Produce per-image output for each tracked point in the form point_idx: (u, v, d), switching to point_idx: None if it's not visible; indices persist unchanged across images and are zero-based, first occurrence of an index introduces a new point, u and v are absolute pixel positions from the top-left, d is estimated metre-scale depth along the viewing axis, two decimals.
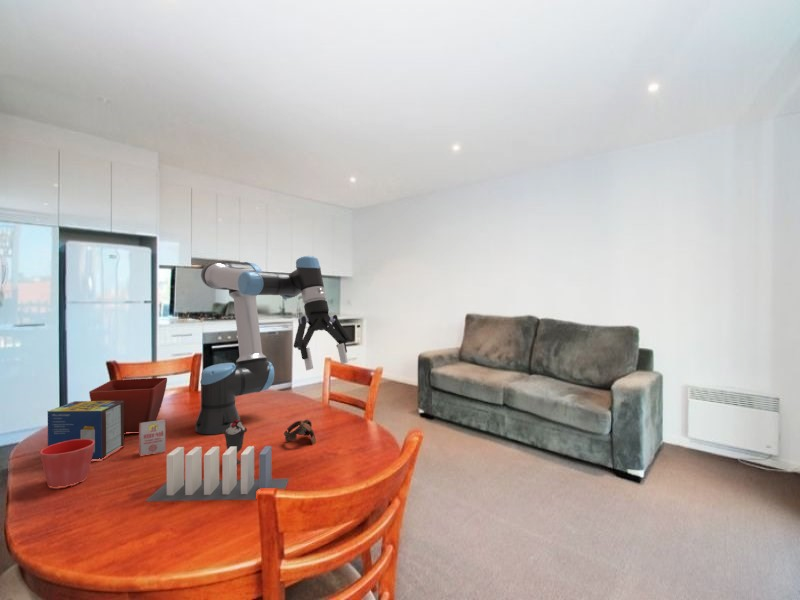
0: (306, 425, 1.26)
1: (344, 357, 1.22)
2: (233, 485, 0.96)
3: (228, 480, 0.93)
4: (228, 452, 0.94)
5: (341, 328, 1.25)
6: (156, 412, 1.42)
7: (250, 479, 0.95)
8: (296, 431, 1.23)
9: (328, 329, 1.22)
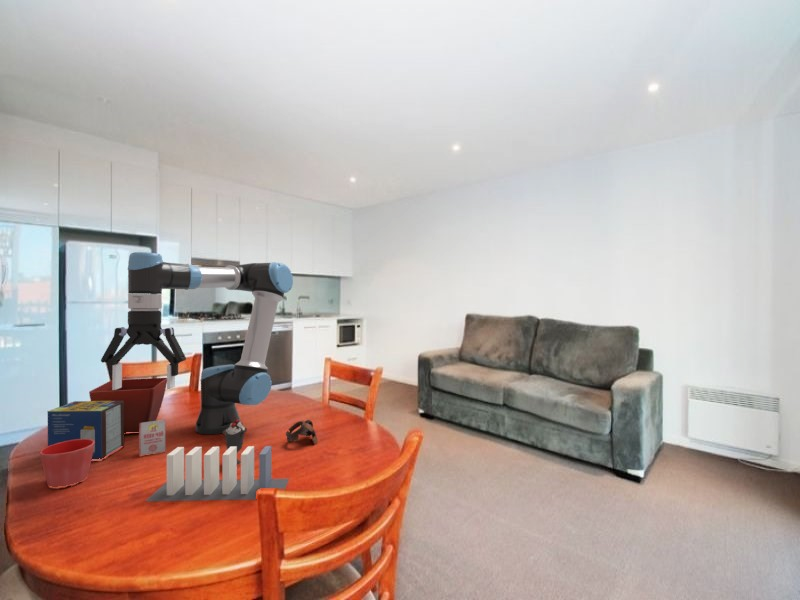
0: (308, 425, 1.26)
1: None
2: (233, 485, 0.96)
3: (228, 480, 0.93)
4: (228, 452, 0.94)
5: (172, 346, 1.00)
6: (156, 412, 1.42)
7: (250, 479, 0.95)
8: (298, 431, 1.22)
9: None
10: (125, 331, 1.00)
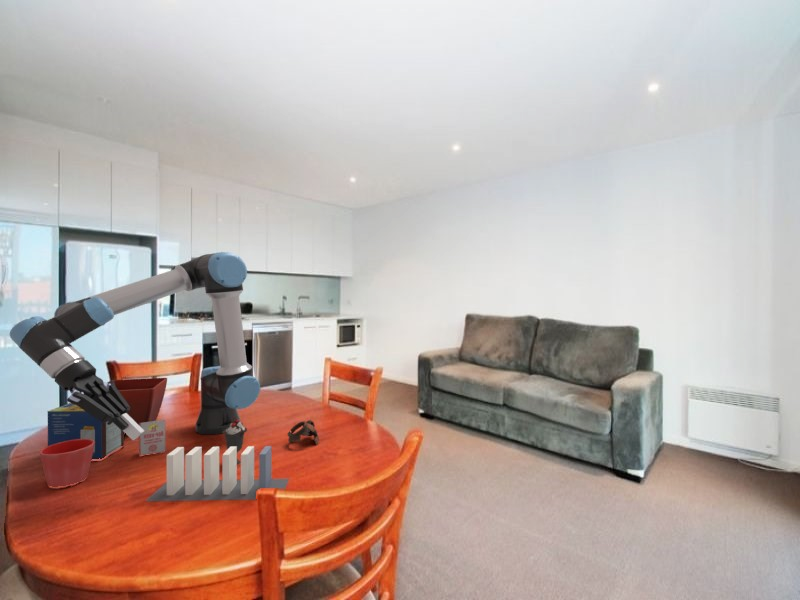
0: (310, 426, 1.26)
1: None
2: (233, 485, 0.96)
3: (228, 480, 0.93)
4: (228, 452, 0.94)
5: None
6: (156, 412, 1.42)
7: (250, 479, 0.95)
8: (300, 432, 1.22)
9: None
10: None
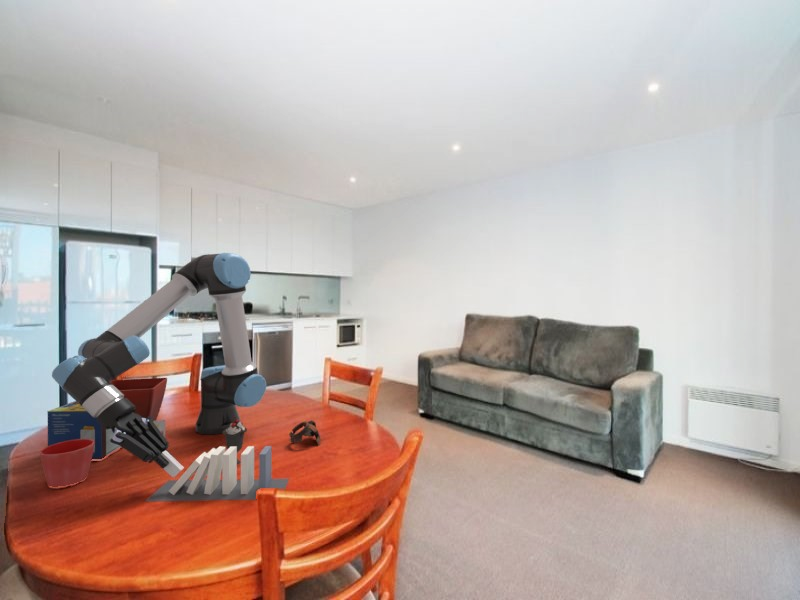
0: (311, 426, 1.25)
1: None
2: (233, 485, 0.96)
3: (228, 480, 0.93)
4: (228, 452, 0.94)
5: None
6: (156, 412, 1.42)
7: (250, 479, 0.95)
8: (302, 432, 1.22)
9: None
10: None
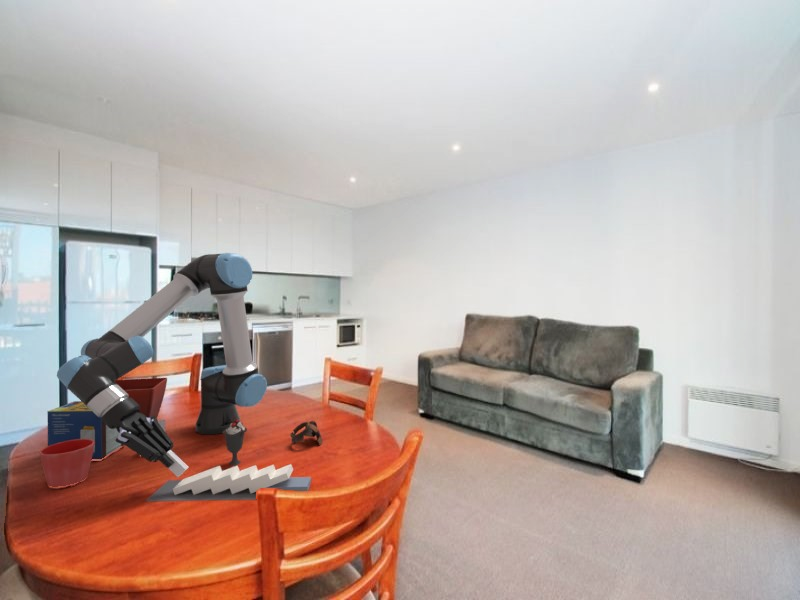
0: (313, 426, 1.25)
1: None
2: None
3: (245, 488, 0.93)
4: (270, 475, 0.94)
5: None
6: (156, 412, 1.42)
7: None
8: (303, 432, 1.21)
9: None
10: None
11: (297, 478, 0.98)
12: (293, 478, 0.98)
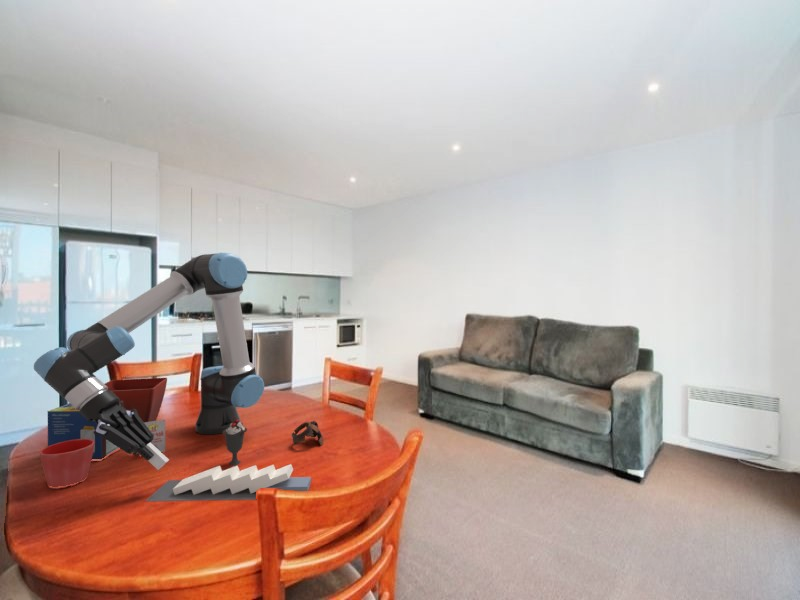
0: (314, 426, 1.25)
1: None
2: None
3: (245, 488, 0.93)
4: (270, 475, 0.94)
5: None
6: (156, 412, 1.42)
7: None
8: (304, 433, 1.21)
9: None
10: None
11: (297, 478, 0.98)
12: (293, 478, 0.98)
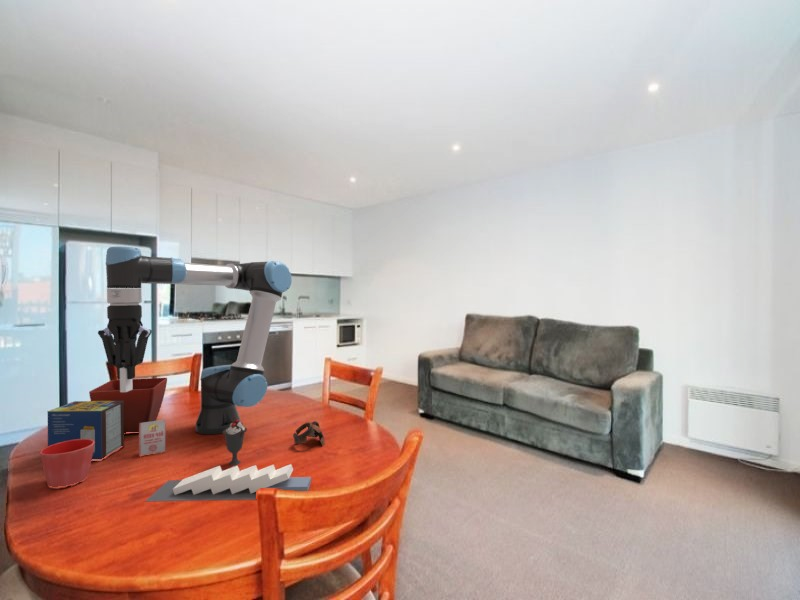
0: (315, 427, 1.25)
1: None
2: None
3: (245, 488, 0.93)
4: (270, 475, 0.94)
5: (137, 347, 1.00)
6: (156, 412, 1.42)
7: None
8: (306, 433, 1.21)
9: None
10: (107, 329, 1.00)
11: (297, 478, 0.98)
12: (293, 478, 0.98)
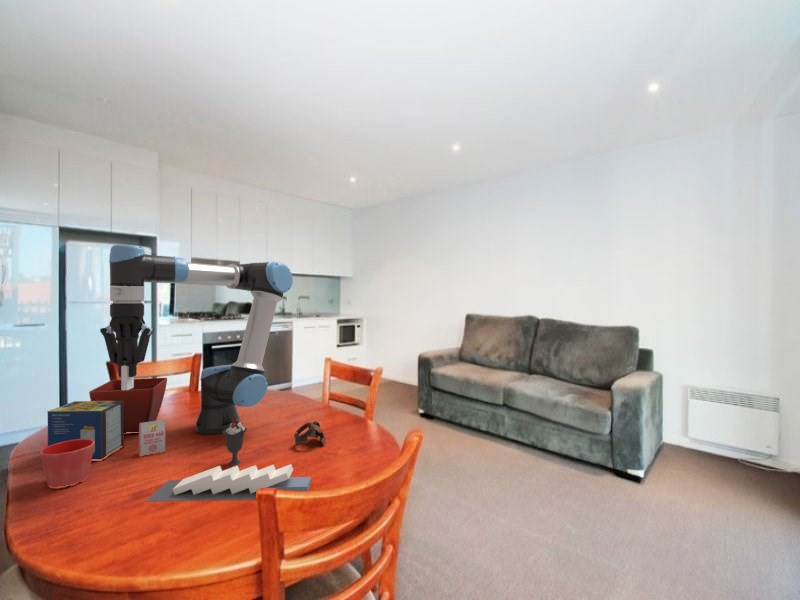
0: (316, 427, 1.25)
1: None
2: None
3: (245, 488, 0.93)
4: (270, 475, 0.94)
5: (139, 345, 1.00)
6: (156, 412, 1.42)
7: None
8: (307, 433, 1.21)
9: None
10: (110, 327, 1.00)
11: (297, 478, 0.98)
12: (293, 478, 0.98)
